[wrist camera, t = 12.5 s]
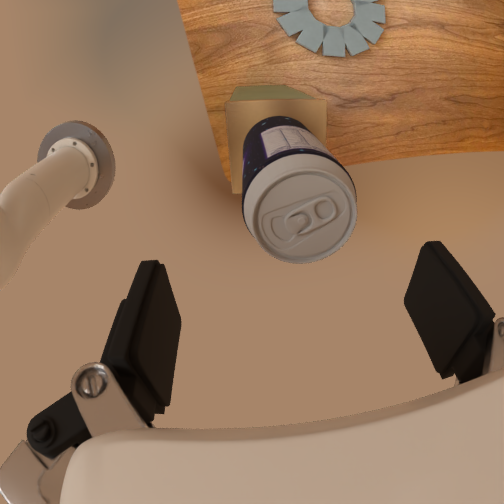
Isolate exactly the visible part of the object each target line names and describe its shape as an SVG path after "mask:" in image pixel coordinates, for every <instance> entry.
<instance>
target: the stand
mask: <svg viewBox="0 0 504 504" xmlns="http://www.w3.org/2000/svg"><path fill="white" fill-rule="evenodd" d="M225 111H226V123H227V135H228V147H229V159H230V170H231V181H232V193H233V194H240V193H242V166H243V144H244V140H245V137H246V135H247V133H248V132H249V131H250V129H251V128H252V127H253V126H254V125H255V124H256V123H258V122H259V121H261V120H263V119H265V118H268V117H272V116H286V117H291V118H293V119H296V120H298V121H299V122H301V123H302V124H303V125H304V126H306V127H307V129H308V130H309V131H310V132H311V133H312V134H313V135H314V136H315V137H316V138H317V139H318V140H319V141H320V142H321V143H322V144H323V145H324V146H325V147H326V137H327V100H325V99H316V98H314V97H311V96H309V95H307V94H305V93H302V92H300V91H298V90H296V89H293V88H291V87H288V86H286V85H264V86H243V87H236V88H235V90H234V92H233V95H232V97H231V99H230V101H226V102H225Z"/></svg>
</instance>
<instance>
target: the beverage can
mask: <svg viewBox="0 0 504 504" xmlns="http://www.w3.org/2000/svg"><path fill="white" fill-rule="evenodd" d="M242 213H243V218H244V221H245V224H246V226H247V228H248V230H249V232H250V233H251V234H252V235H253V237H254V238H255V239H256V241H257V242H258V244H259V245H260V246H261V248H262V249H263V250H264V251H265V252H267V253H268V254H269V255H271V256H272V257H274V258H276V259H279V260H281V261H284V262H289V263H296V264H303V263H311V262H315V261H318V260H321V259H324V258H326V257H328V256H330V255H332V254H333V253H335V252H336V251H337V250H339V249H340V248H341V247H342V246H343V245H344V244H345V243H346V242H347V240H348V239H349V237H350V236H351V234H352V232H353V230H354V228H355V224H356V221H357V204H356V190H355V186H354V183H353V181H352V179H351V177H350V175H349V174H348V172H347V171H346V170H345V168H344V167H343V166H342V165H341V164H340V163H339V162H338V161H337V159H336V158H335V157H334V156H333V155H332V154H331V153H330V152H329V151H328V150H327V148H326V147H325V146H324V145H323V144H322V143H321V142H320V141H319V140H318V139H317V138H316V137H315V136H314V135H313V134H312V133H311V132H310V131H309V130H308V129H307V127H306V126H304V125H303V124H302V123H301V122H299V121H298V120H296V119H293V118H291V117H286V116H272V117H268V118H265V119H263V120H261V121H259V122H258V123H256V124H255V125H254V126H253V127H252V128H251V129H250V131H249V132H248V133H247V135H246V137H245V140H244V144H243V166H242Z"/></svg>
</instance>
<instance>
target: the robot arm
mask: <svg viewBox="0 0 504 504" xmlns="http://www.w3.org/2000/svg"><path fill="white" fill-rule="evenodd" d="M93 163H94V164H93ZM98 173H99V170H98V162H97V159H96V156H95V154H94V152H93V151H92V149H91V148H90V147H89V146H88V145H87V144H86V143H85V142H84V141H82V140H80V139H77V138H73V137H68V138H63V139H61V140H59V141H57V142H56V143H55V144H54V145H52V147H51V148H50V149H49V151H48V154H47V156H46V158H44V159H43V160H41V161H40V162H38V163H37V164H35V165H34V166H32V167H31V168H30V169H28V170H27V171H25V172H24V173H22V174H21V175H20V176H19V177H17V178H16V179H14V180H13V181H12V182H10V183H9V184H8V185H7V186H6V187H5V188H4V190H3V191H2V193H1V195H0V290H2V289H3V288H4V287H5V286H6V285H8V283H9V282H10V281H11V279H12V278H13V276H14V275H15V273H16V271H17V270H18V268H19V265H20V263H21V261H22V259H23V257H24V255H25V253H26V251H27V250H28V248H29V247H30V245H31V244H32V242H33V241H34V240H35V239H36V237H37V236H38V235H39V234H40V233H41V231H42V230H43V229H44V228H45V227H46V226H47V225H48V223H50V222H51V220H52V219H53V218H54V217H55V216H56V215H57V214H58V213H59V212H60V211H61V210H62V209H63V208H64V207H65V206H66V205H67V204H68V203H69V202H70V201H71V200H72V199H78V198H82V197H84V196H86V195H87V194H88V193H89V192H90V191H91V190H92V189H93V188H94V186H95V184H96V182H97V179H98ZM404 305H405V307H406V309H407V311H408V313H409V315H410V317H411V319H412V321H413V323H414V325H415V327H416V329H417V331H418V333H419V335H420V337H421V339H422V341H423V343H424V346H425V348H426V350H427V352H428V354H429V357H430V359H431V361H432V363H433V365H434V368H435V370H436V371H437V372H438V373H440V375H441V378H442V379H445V378H448V377H451V376H453V375H454V373H455V375H456V381H455V385H454V387H452V388H449V389H447V390H443V391H441V392H438V393H435V394H432V395H429V396H425V397H422V398H419V399H416V400H412V401H409V402H405V403H402V404H398V405H394V406H390V407H386V408H382V409H378V410H374V411H369V412H365V413H360V414H355V415H350V416H345V417H339V418H333V419H327V420H321V421H314V422H306V423H298V424H290V425H280V426H269V427H253V428H227V429H180V428H156V427H155V426H154V424H152V421H153V420H154V414H164V411H165V406H169V405H170V401H171V392H172V385H173V378H174V370H175V363H176V356H177V350H178V342H179V336H180V330H181V317H180V314H179V311H178V308H177V304H176V301H175V298H174V295H173V292H172V288H171V285H170V283H169V279H168V275H167V272H166V268H165V266H164V264H160V263H159V261H158V260H149V261H141V263H140V265H139V268H138V270H137V273H136V275H135V278H134V280H133V283H132V285H131V288H130V290H129V293H128V296H127V299H124V300H122V301H121V303H120V306H119V308H118V311H117V314H116V316H115V319H114V322H113V325H112V328H111V331H110V334H109V336H108V339H107V343H106V345H105V348H104V352H103V354H102V358H101V361H100V363H98V362H92V363H88V364H85V365H83V366H82V367H80V368H79V369H78V370H77V372H76V373H75V374H74V376H73V378H72V380H71V392H70V393H69V394H67V395H66V396H64V397H63V398H61V399H60V400H58V401H56V402H55V403H54V404H52V405H51V406H49V407H48V408H46V409H45V410H43V411H42V412H40V413H39V414H37V415H36V416H35V417H34V418H32V419H31V421H30V423H29V424H28V428H27V440H26V441H24V440H22V441H21V442H20V443H19V444H18V446H17V447H16V448H15V450H14V451H13V452H12V453H11V455H10V456H9V457H8V458H7V460H6V461H5V462H4V464H3V465H2V466H1V468H0V493H1V494H2V496H3V497H4V499H5V500H6V501H7V502H8V504H504V318H499V319H497V320H496V322H495V323H494V322H493V318H494V317H495V313H494V312H493V310H492V308H491V307H490V305H489V304H488V302H487V301H486V299H485V298H484V297H483V295H482V294H481V292H480V291H479V290H478V288H477V287H476V285H475V284H474V283H473V281H472V280H471V279H470V278H469V276H468V275H467V273H466V272H465V271H464V270H463V268H462V267H461V266H460V264H459V263H458V262H457V261H456V259H455V258H454V257H453V256H452V254H451V253H450V252H449V251H448V250H447V248H446V247H445V246H444V245H443V244H442V243H441V242H440V241H429V242H426V243H425V244H424V246H422V247H421V250H420V253H419V256H418V259H417V263H416V265H415V269H414V271H413V275H412V277H411V280H410V283H409V286H408V289H407V292H406V294H405V297H404Z"/></svg>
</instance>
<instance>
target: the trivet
mask: <svg viewBox="0 0 504 504" xmlns="http://www.w3.org/2000/svg"><path fill="white" fill-rule="evenodd" d="M375 1H378V0H351V2H352V3H353V7H354V16H353V17H352V19H351V20H350V22H349V23H348V24H346V25H344V26H341V27H334V26H327V25H325V24H323V23H321V22H320V21H318V20H316V19H315V18H314V16H313V15H312V13H311V12H310V11H309V9H308V0H273V13H287V14H285V15H283V16H281V17H279V18H277V19H276V20H277V22H278V23H279V24H280V26H281V27H282V29H283V30H284V31H285V33H286V34H287V36H288V37H289V36H291V35H293V34H295V33H297V32H300V31H301V33H300V34H299V36H298V38H297V39H296V41H295V43H297V44H299V45H301V46H303V47H304V48H306V49H308V50H310V51H312V52H313V53H316V52H317V50H318V48H319V47H320V45H321V44H322V56H335V57H345V47H346V49H347V51H348V52H349V54H350V56H354V55H356V54H358V53H361V52H363V51H365V50H368V49H370V48H369V46H368V44H367V43H366V41H365V39H366V40H367V41H368V42H370V43H371V44H376V42H377V40H378V39H379V37H380V36H381V34H382V32H383V31H384V29H382V28H381V27H380V26H378V25H377V24H376V23H380V24H386V21H385V6H384V5H380V4H375V3H372V2H375ZM374 22H375V23H374Z"/></svg>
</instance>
